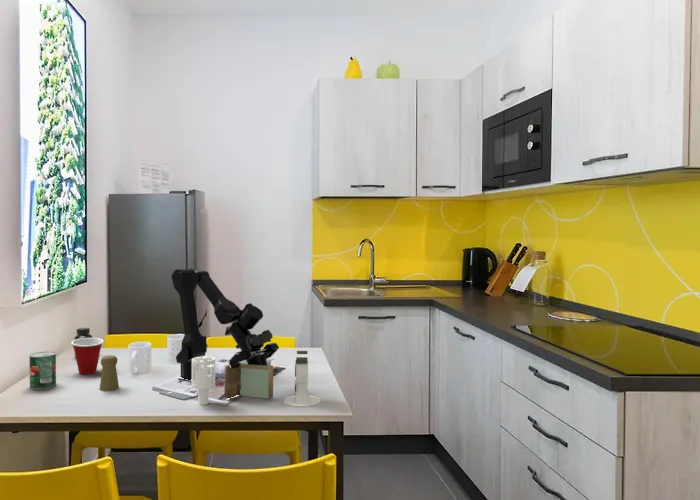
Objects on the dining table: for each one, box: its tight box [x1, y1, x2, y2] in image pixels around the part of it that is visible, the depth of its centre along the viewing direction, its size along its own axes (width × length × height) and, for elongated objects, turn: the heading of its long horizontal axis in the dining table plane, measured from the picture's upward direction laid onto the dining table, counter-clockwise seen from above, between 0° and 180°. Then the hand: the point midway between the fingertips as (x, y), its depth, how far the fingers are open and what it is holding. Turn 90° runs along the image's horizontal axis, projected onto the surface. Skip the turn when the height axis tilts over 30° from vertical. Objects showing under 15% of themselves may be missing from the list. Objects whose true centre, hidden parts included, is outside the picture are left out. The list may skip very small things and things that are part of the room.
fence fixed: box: [224, 362, 241, 399], centre depth 181 cm, size 2×6×11 cm, turn 147°
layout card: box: [158, 390, 193, 401], centre depth 185 cm, size 12×9×1 cm
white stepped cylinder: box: [191, 355, 216, 406], centre depth 175 cm, size 7×7×15 cm
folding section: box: [240, 364, 274, 399], centre depth 182 cm, size 2×11×10 cm, turn 77°
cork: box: [99, 354, 120, 392], centre depth 190 cm, size 6×6×11 cm
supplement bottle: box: [73, 327, 94, 359], centre depth 232 cm, size 7×7×12 cm
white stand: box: [283, 350, 321, 408], centre depth 179 cm, size 12×11×15 cm
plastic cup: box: [71, 337, 104, 375], centre depth 209 cm, size 11×11×12 cm
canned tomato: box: [29, 351, 57, 390], centre depth 191 cm, size 8×8×11 cm
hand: (268, 376), depth 183 cm, fingers closed
